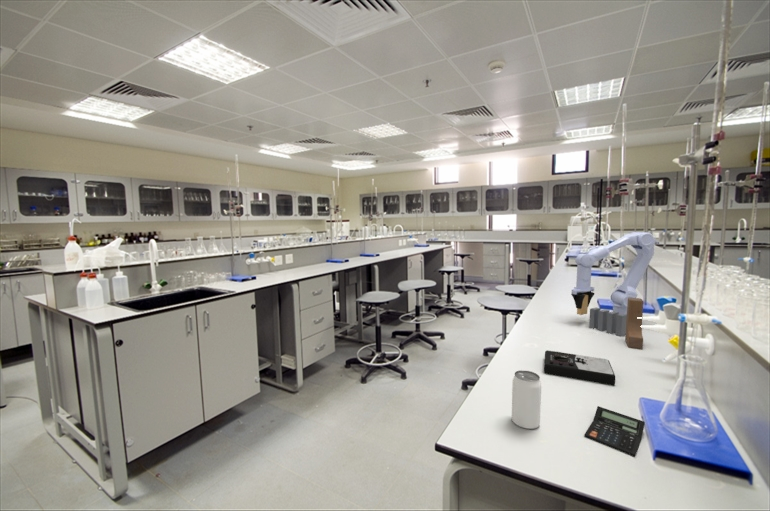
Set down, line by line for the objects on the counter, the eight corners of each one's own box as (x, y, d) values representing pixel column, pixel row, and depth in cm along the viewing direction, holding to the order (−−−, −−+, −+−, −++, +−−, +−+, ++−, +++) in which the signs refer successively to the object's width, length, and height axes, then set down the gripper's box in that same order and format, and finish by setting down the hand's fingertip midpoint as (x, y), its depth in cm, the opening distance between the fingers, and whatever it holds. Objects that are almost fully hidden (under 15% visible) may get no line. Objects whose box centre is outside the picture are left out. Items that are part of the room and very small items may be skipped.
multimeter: (544, 359, 118) (545, 346, 118) (608, 369, 110) (609, 355, 109) (543, 374, 107) (544, 359, 106) (615, 387, 98) (616, 371, 97)
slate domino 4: (622, 333, 143) (623, 313, 142) (627, 334, 141) (628, 314, 140) (615, 335, 141) (617, 314, 140) (621, 336, 139) (622, 315, 138)
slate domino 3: (612, 330, 146) (613, 311, 146) (617, 332, 145) (618, 312, 144) (606, 332, 144) (607, 312, 143) (611, 334, 143) (612, 313, 142)
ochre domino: (583, 312, 158) (584, 294, 157) (587, 313, 156) (588, 295, 155) (576, 313, 156) (577, 295, 155) (581, 315, 154) (582, 296, 153)
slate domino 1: (595, 326, 153) (596, 307, 152) (599, 327, 151) (600, 308, 151) (589, 327, 151) (590, 308, 150) (593, 329, 149) (594, 309, 148)
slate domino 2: (603, 328, 150) (604, 309, 149) (608, 329, 148) (609, 310, 147) (597, 330, 148) (598, 310, 147) (602, 331, 146) (603, 311, 145)
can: (516, 411, 86) (517, 367, 84) (543, 420, 81) (544, 374, 80) (507, 423, 81) (508, 376, 79) (535, 433, 76) (537, 384, 75)
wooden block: (642, 349, 125) (645, 303, 123) (628, 347, 127) (631, 302, 125) (638, 342, 133) (641, 298, 131) (625, 340, 135) (627, 297, 133)
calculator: (584, 437, 75) (584, 425, 75) (597, 416, 83) (598, 405, 83) (634, 458, 69) (635, 445, 68) (644, 433, 77) (644, 420, 76)
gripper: (584, 276, 161) (583, 303, 163) (565, 279, 155) (564, 307, 156) (599, 278, 155) (597, 307, 156) (580, 281, 148) (579, 311, 150)
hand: (582, 307), depth 156 cm, fingers closed on ochre domino, 5 cm apart
